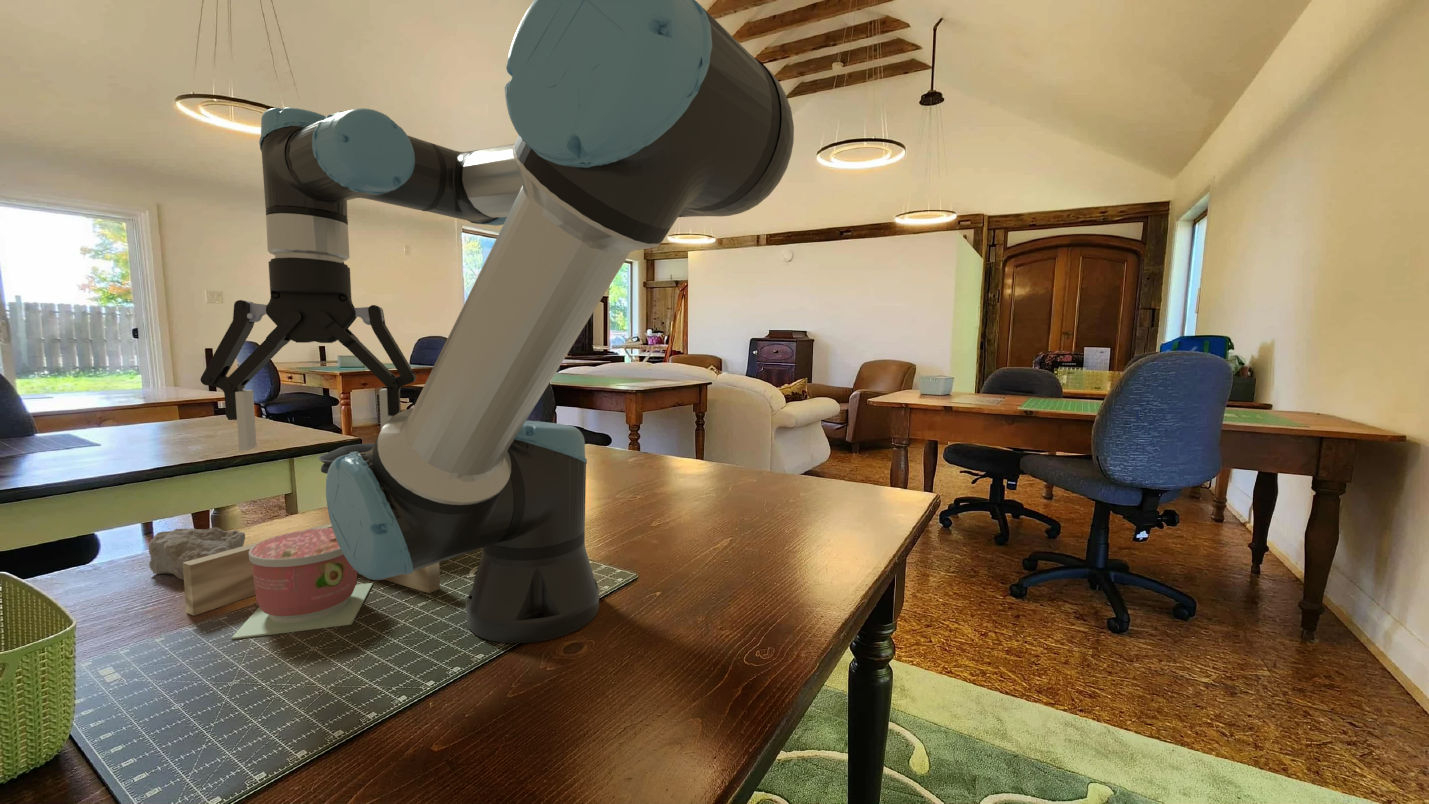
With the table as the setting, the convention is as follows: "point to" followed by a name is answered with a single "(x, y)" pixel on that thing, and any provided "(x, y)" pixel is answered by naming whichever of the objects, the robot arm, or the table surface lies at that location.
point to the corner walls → (233, 579)
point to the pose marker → (265, 626)
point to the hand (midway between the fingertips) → (320, 446)
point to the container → (301, 575)
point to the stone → (189, 547)
